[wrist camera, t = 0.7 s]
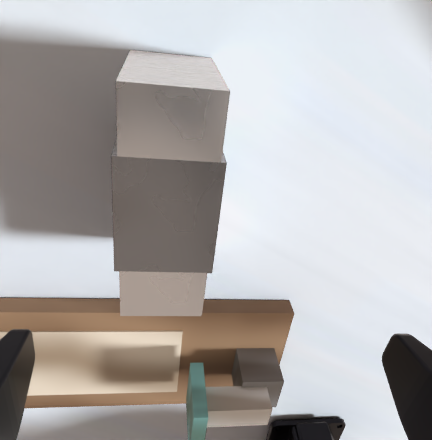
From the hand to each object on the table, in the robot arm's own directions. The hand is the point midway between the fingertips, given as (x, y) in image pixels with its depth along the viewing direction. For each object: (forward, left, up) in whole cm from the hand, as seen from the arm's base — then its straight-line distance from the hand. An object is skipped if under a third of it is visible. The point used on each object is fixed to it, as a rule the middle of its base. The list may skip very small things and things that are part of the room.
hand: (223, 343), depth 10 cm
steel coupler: (0, +1, -12) cm, 12 cm away
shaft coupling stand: (-14, +6, -12) cm, 20 cm away
